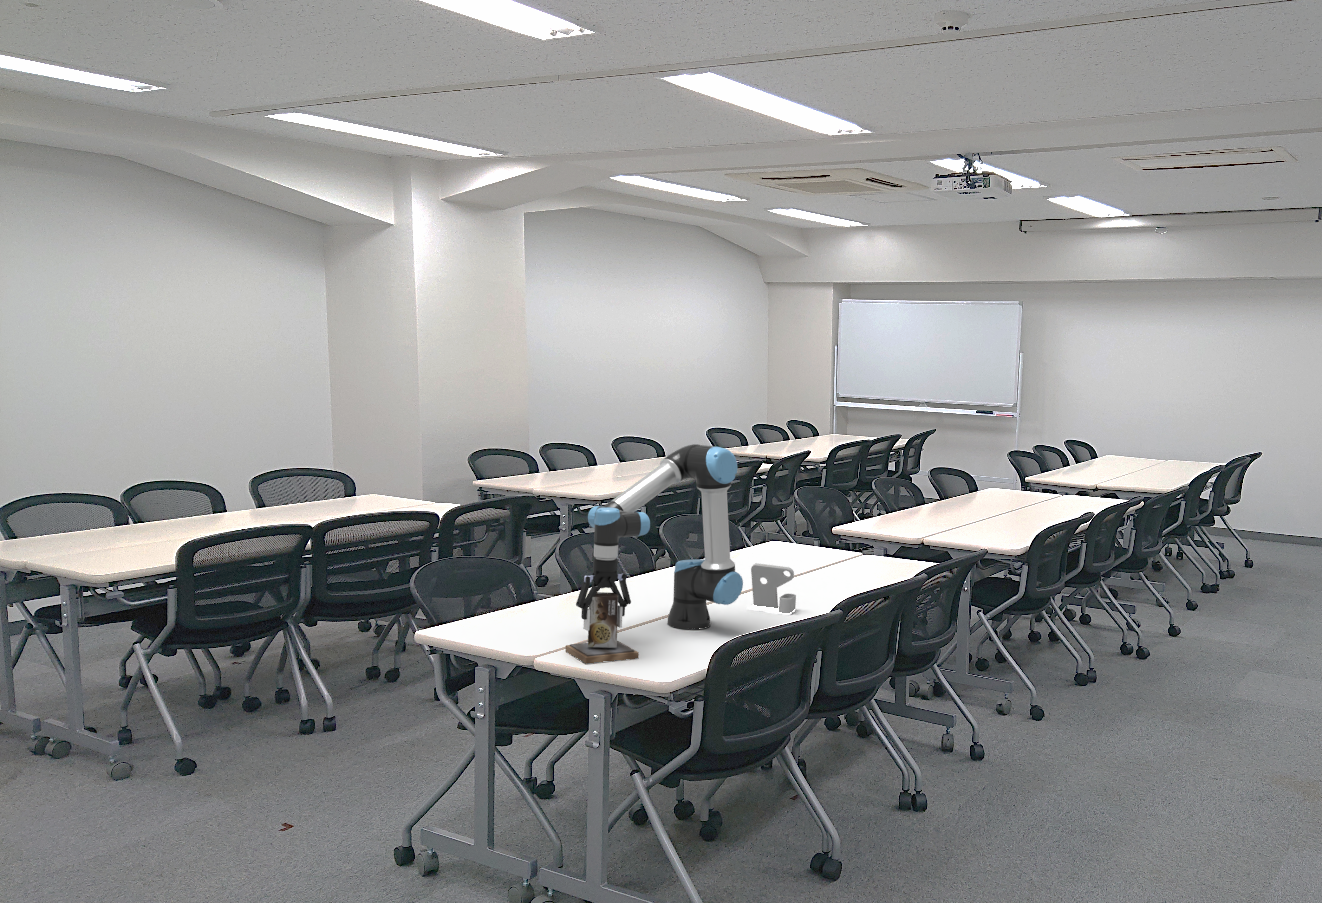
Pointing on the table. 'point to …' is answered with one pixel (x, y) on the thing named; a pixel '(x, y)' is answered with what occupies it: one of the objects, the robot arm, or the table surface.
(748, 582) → the table surface
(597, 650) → the tray
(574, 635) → the table surface
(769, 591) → the grey bracket with cup
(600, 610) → the coffee box
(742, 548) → the table surface
